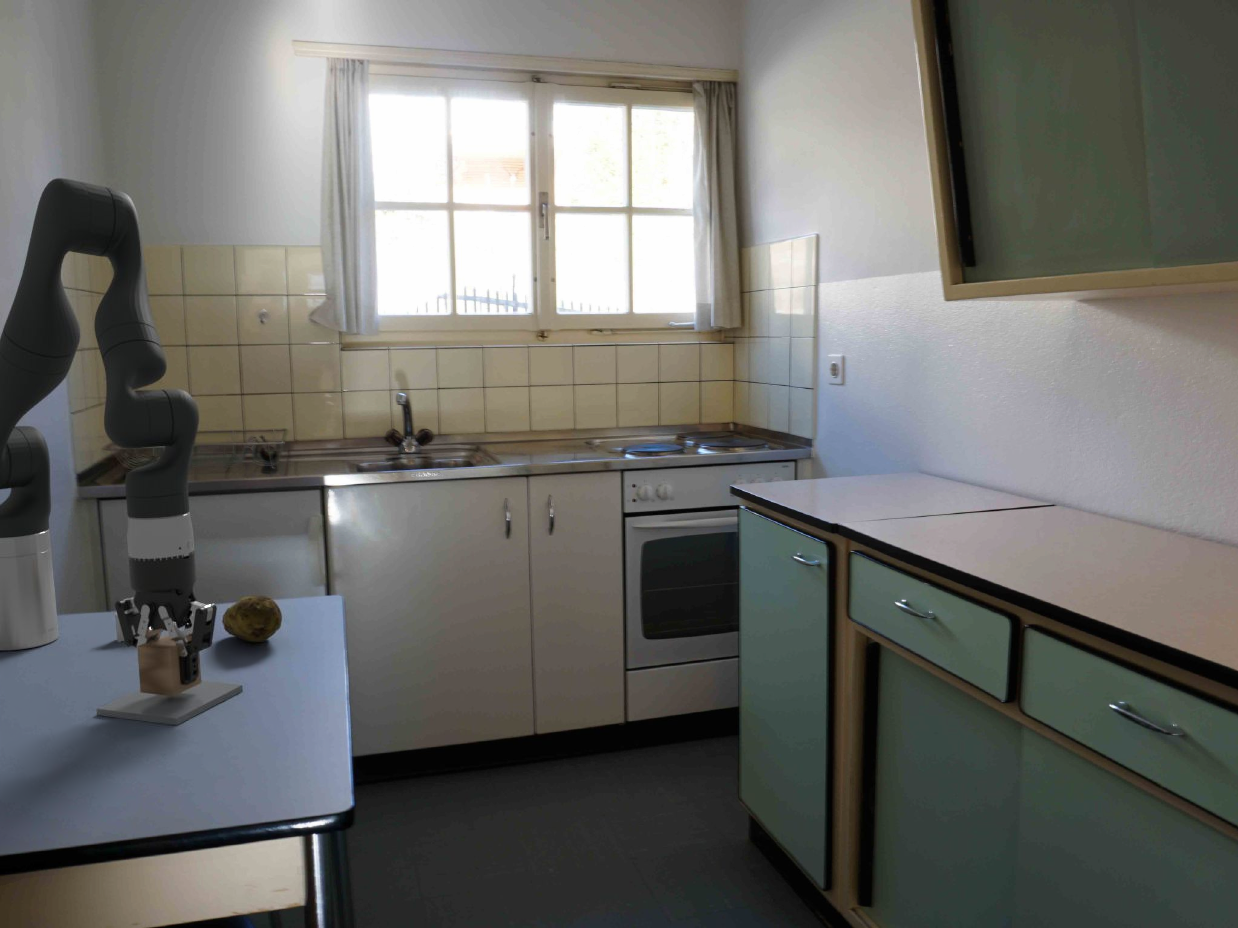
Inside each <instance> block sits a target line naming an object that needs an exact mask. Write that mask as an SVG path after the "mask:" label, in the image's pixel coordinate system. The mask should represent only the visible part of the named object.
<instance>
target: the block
mask: <svg viewBox="0 0 1238 928" xmlns="http://www.w3.org/2000/svg"><path fill="white" fill-rule="evenodd" d="M185 640H186V643H187V645H189V642H188V641H187V639H186V637H185ZM136 650H137V663H138V677H139V689H140V692H141V693H149V694H158V695H166V696H175V695H177V694H179V693H181V692H183V691H185V690H188V689H190V688H192V687H194V686H196V685H198V684H200V683H201V681H202V674H201V673H202V671H201V670H202V669H201V657H200V652H198V667H199V675H198V677H197V679H196V681H195V682H192V683H190V684H188V685H182V684H181V682H180V668H179V657H180V654H179V652H178V648H177V646H176V643H175V641H173V640H171V639H170V636H169V634H165V635H163V636H160V638H158V639H154V640H152V641H149V642H148V643H144V644H142V645H139V646H137V648H136Z"/></svg>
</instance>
